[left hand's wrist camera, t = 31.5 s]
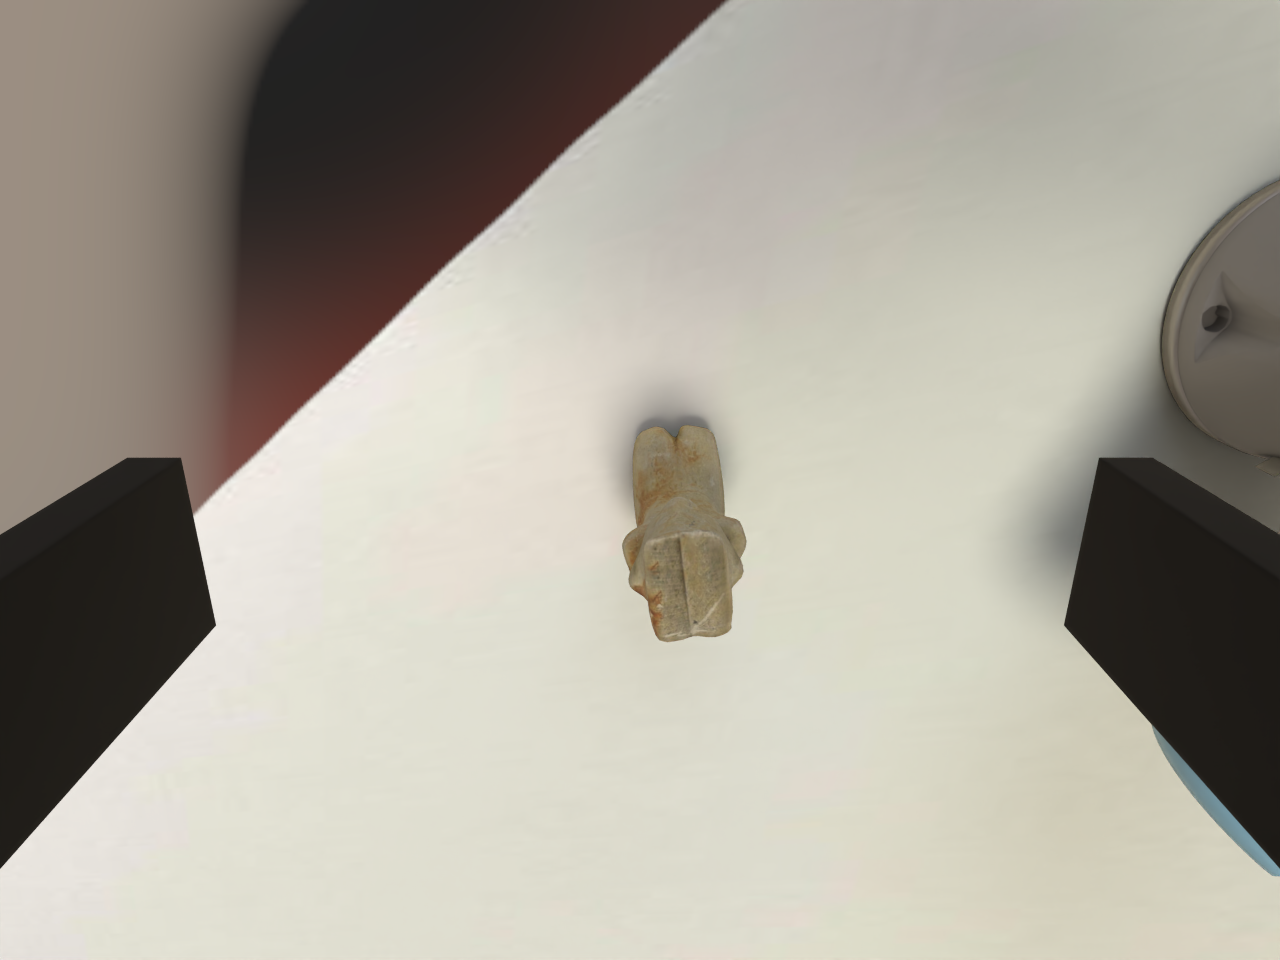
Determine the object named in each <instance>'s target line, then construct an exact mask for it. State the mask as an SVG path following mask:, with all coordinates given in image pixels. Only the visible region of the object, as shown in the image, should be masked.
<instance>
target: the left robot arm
mask: <svg viewBox="0 0 1280 960" xmlns="http://www.w3.org/2000/svg"><path fill="white" fill-rule="evenodd" d="M1162 358H1163V366H1164V372H1165V376H1166V380H1167V383H1168V386H1169V389H1170V391H1171V393H1172V395H1173V397H1174V399H1175V401H1176V403H1177V404H1178V406H1179V408H1180V409H1181V410H1182V412H1183V413H1184V414H1185V415H1186V417H1187V418H1188V419H1189V420H1190V421H1191V422H1192V423H1193V424H1194V425H1195V426H1196V427H1198V428H1199V429H1200V430H1202V431H1203V432H1204V433H1206V434H1207V435H1209V436H1211V437H1213V438H1214V439H1216V440H1218V441H1220V442H1222V443H1224V444H1226V445H1228V446H1230V447H1232V448H1234V449H1237V450H1239V451H1241V452H1244V453H1247V454H1250V455H1254V456H1258V457H1262V458H1265V459H1268V460H1266V461H1264V462H1262V463H1260V464H1259V465H1257V466H1255V467H1257V468H1259V469H1261V470H1262V471H1264V472H1266V473H1268V474H1270V475H1272V476H1274V477H1275V476H1277V475H1279V474H1280V180H1279V181H1277V182H1275V183H1273V184H1271V185H1269V186H1267V187H1265V188H1264V189H1262V190H1260V191H1259V192H1257V193H1255V194H1254V195H1252V196H1251V197H1249V198H1248V199H1247V200H1245V201H1244V202H1242V203H1241V204H1240V205H1238V206H1237V207H1236V208H1235V209H1234V210H1232V211H1231V212H1230V213H1229V214H1228V215H1227V216H1226V217H1225V218H1223V219H1222V220H1221V221H1220V222H1219V223H1218V224H1217V225H1216V226H1215V227H1214V228H1213V230H1212V231H1211V232H1210V233H1209V234H1208V235H1207V236H1206V238H1205V239H1204V240H1203V241H1202V243H1201V244H1200V245H1199V247H1198V248H1197V249H1196V251H1195V252H1194V253H1193V255H1192V256H1191V258H1190V260H1189V261H1188V263H1187V264H1186V266H1185V268H1184V270H1183V271H1182V273H1181V275H1180V277H1179V279H1178V281H1177V284H1176V286H1175V288H1174V291H1173V293H1172V296H1171V299H1170V302H1169V305H1168V308H1167V312H1166V316H1165V321H1164V327H1163V335H1162ZM215 626H216V623H215V618H214V613H213V609H212V604H211V599H210V594H209V590H208V585H207V580H206V575H205V571H204V566H203V561H202V556H201V551H200V547H199V542H198V537H197V532H196V528H195V523H194V518H193V513H192V509H191V504H190V499H189V494H188V489H187V485H186V480H185V475H184V470H183V466H182V461H181V458H126V459H125V460H123V461H121V462H120V463H118V464H116V465H115V466H113V467H111V468H110V469H108V470H106V471H105V472H103V473H101V474H100V475H98V476H96V477H95V478H93V479H92V480H90V481H88V482H87V483H85V484H83V485H82V486H80V487H78V488H77V489H75V490H73V491H72V492H70V493H68V494H67V495H65V496H63V497H62V498H60V499H59V500H57V501H55V502H54V503H52V504H50V505H49V506H47V507H45V508H44V509H42V510H40V511H39V512H37V513H36V514H34V515H32V516H30V517H29V518H27V519H26V520H24V521H22V522H21V523H19V524H17V525H16V526H14V527H12V528H11V529H9V530H7V531H6V532H4V533H2V534H1V535H0V868H1V867H2V866H3V865H4V864H5V863H6V862H7V861H8V859H9V858H10V857H11V856H12V855H13V854H14V853H15V852H16V850H17V849H18V848H19V847H20V846H21V845H22V844H23V843H24V841H25V840H26V839H27V838H28V837H29V836H30V835H31V833H32V832H33V831H34V830H35V829H36V828H37V827H38V826H39V824H40V823H41V822H42V821H43V820H44V819H45V818H46V817H47V815H48V814H49V813H50V812H51V811H52V810H53V809H54V808H55V806H56V805H57V804H58V803H59V802H60V801H61V800H62V799H63V797H64V796H65V795H66V794H67V793H68V792H69V791H70V789H71V788H72V787H73V786H74V785H75V784H76V783H77V782H78V780H79V779H80V778H81V777H82V776H83V775H84V774H85V773H86V771H87V770H88V769H89V768H90V767H91V766H92V765H93V764H94V762H95V761H96V760H97V759H98V758H99V757H100V756H101V755H102V753H103V752H104V751H105V750H106V749H107V748H108V747H109V745H110V744H111V743H112V742H113V741H114V740H115V739H116V738H117V736H118V735H119V734H120V733H121V732H122V731H123V730H124V729H125V727H126V726H127V725H128V724H129V723H130V722H131V721H132V720H133V718H134V717H135V716H136V715H137V714H138V713H139V712H140V711H141V709H142V708H143V707H144V706H145V705H146V704H147V703H148V702H149V700H150V699H151V698H152V697H153V696H154V695H155V694H156V692H157V691H158V690H159V689H160V688H161V687H162V686H163V685H164V683H165V682H166V681H167V680H168V679H169V678H170V677H171V676H172V674H173V673H174V672H175V671H176V670H177V669H178V668H179V667H180V665H181V664H182V663H183V662H184V661H185V660H186V659H187V658H188V656H189V655H190V654H191V653H192V652H193V651H194V650H195V648H196V647H197V646H198V645H199V644H200V643H201V642H202V641H203V639H204V638H205V637H206V636H207V635H208V634H209V633H210V632H211V630H212V629H213V628H214V627H215ZM1064 626H1065V627H1066V628H1067V629H1068V630H1069V632H1070V633H1071V634H1072V635H1073V636H1074V637H1075V638H1076V639H1077V641H1078V642H1079V643H1080V644H1081V645H1082V646H1083V647H1084V648H1085V650H1086V651H1087V652H1088V653H1089V654H1090V655H1091V656H1092V658H1093V659H1094V660H1095V661H1096V662H1097V663H1098V664H1099V665H1100V667H1101V668H1102V669H1103V670H1104V671H1105V672H1106V673H1107V674H1108V676H1109V677H1110V678H1111V679H1112V680H1113V681H1114V682H1115V683H1116V685H1117V686H1118V687H1119V688H1120V689H1121V690H1122V691H1123V692H1124V694H1125V695H1126V696H1127V697H1128V698H1129V699H1130V700H1131V702H1132V703H1133V704H1134V705H1135V706H1136V707H1137V708H1138V709H1139V711H1140V712H1141V713H1142V714H1143V715H1144V716H1145V717H1146V718H1147V720H1148V721H1149V722H1150V723H1151V724H1152V728H1153V731H1154V734H1155V737H1156V739H1157V741H1158V743H1159V745H1160V747H1161V749H1162V751H1163V753H1164V755H1165V757H1166V758H1167V760H1168V762H1169V763H1170V765H1171V766H1172V768H1173V769H1174V771H1175V772H1176V774H1177V775H1178V777H1179V778H1180V779H1181V781H1182V782H1183V784H1184V785H1185V786H1186V788H1187V789H1188V790H1189V791H1190V793H1191V794H1192V795H1193V796H1194V798H1195V799H1196V800H1197V801H1198V802H1199V804H1200V805H1201V806H1202V807H1203V808H1204V810H1205V811H1206V812H1207V813H1208V814H1209V815H1210V816H1211V817H1212V818H1213V820H1214V821H1215V822H1216V823H1217V824H1218V825H1219V826H1220V827H1221V828H1222V829H1223V830H1224V831H1225V832H1226V833H1227V834H1228V836H1229V837H1230V838H1231V839H1232V840H1233V841H1234V842H1235V843H1236V844H1237V845H1238V846H1239V847H1240V848H1241V849H1242V850H1243V851H1245V852H1246V853H1247V854H1248V855H1249V856H1250V857H1251V858H1252V859H1253V860H1254V861H1255V862H1256V863H1257V864H1259V865H1260V866H1261V867H1262V868H1263V869H1264V870H1266V871H1267V872H1268V873H1270V874H1271V875H1272V876H1280V531H1279V532H1278V533H1276V532H1274V531H1273V530H1271V529H1269V528H1268V527H1266V526H1264V525H1263V524H1261V523H1259V522H1258V521H1256V520H1254V519H1253V518H1251V517H1250V516H1248V515H1246V514H1245V513H1243V512H1241V511H1240V510H1238V509H1236V508H1235V507H1233V506H1231V505H1230V504H1228V503H1226V502H1225V501H1223V500H1221V499H1220V498H1218V497H1217V496H1215V495H1213V494H1212V493H1210V492H1208V491H1207V490H1205V489H1203V488H1202V487H1200V486H1198V485H1197V484H1195V483H1193V482H1192V481H1190V480H1188V479H1187V478H1185V477H1184V476H1182V475H1180V474H1179V473H1177V472H1175V471H1174V470H1172V469H1170V468H1169V467H1167V466H1165V465H1164V464H1162V463H1160V462H1159V461H1157V460H1155V459H1154V458H1099V461H1098V466H1097V470H1096V475H1095V480H1094V485H1093V489H1092V494H1091V499H1090V504H1089V508H1088V513H1087V518H1086V523H1085V528H1084V532H1083V537H1082V542H1081V547H1080V551H1079V556H1078V561H1077V566H1076V571H1075V575H1074V580H1073V585H1072V590H1071V594H1070V599H1069V604H1068V609H1067V613H1066V618H1065V623H1064Z"/></svg>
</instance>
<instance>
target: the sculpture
mask: <svg viewBox="0 0 1280 960" xmlns="http://www.w3.org/2000/svg"><path fill="white" fill-rule="evenodd" d="M633 492H634V505H635V515H636V523H637V528H636V529H634V530H632V531H631V532H630V533H629V534H628V535H627V536H626V537H625V539H624V541H623V544H622V547H623V553H624V557H625V560H626V563H627V565H628V567H629V571H630V575H629V584H630V587H631V588H632V589H633V590H635V591H636V592H638V593H639V594H641V595H642V596H643V597H644V598H645V599H646V600H647V601H648V606H649V613H650V617H651V622H652V626H653V629H654V632H655V634H656V636H657V637H658V639H659V640H661V641H665V642H672V641H678V640H683V639H686V638H688V637H692V636H703V637H717V636H720V635H723V634H725V633H727V632H728V631H729V630H730V629H731V621H732V613H733V605H732V590H731V589H732V587H733V586H734V585H735V584H736V583H737V581H738V580H739V579H740V578H741V577H742V574H743V565H742V562H741V559H740V558H741V556H742V554H743V552H744V550H745V547H746V537H745V534H744V531H743V528H742V525H741V523H740V521H738V520H736V519H733V518H730V517H726V516H725V507H724V491H723V481H722V473H721V466H720V460H719V455H718V450H717V446H716V441H715V437H714V435H713V433H712V432H711V431H710V430H708V429H706V428H702V427H696V426H690V425H685V426H682V427H681V428H680V430H679V433H678V435H677V437H673V436H672V435H670V434H669V433H668V432H667V431H666V430H665V429H663V428H661V427H652V428H650V429H647V430H645V431H642V432H641V433H640V434H639V435H638V437H637V439H636V441H635V444H634V451H633Z"/></svg>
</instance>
